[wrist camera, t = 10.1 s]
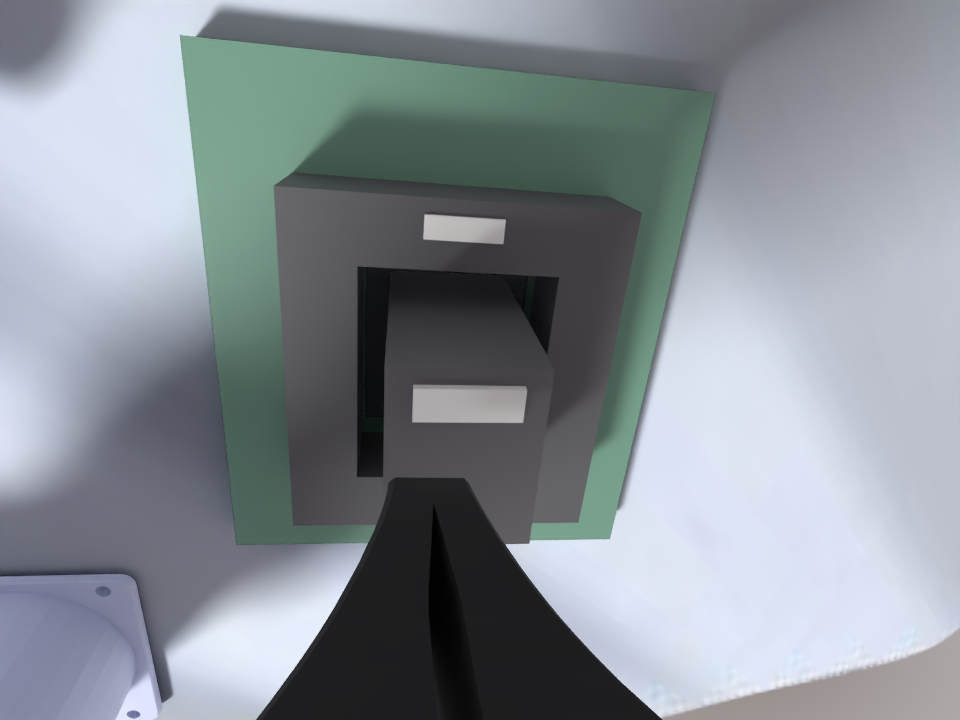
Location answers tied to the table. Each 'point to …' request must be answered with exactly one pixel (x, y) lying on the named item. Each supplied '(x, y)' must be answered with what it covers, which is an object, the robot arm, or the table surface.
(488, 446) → the plug
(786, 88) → the table surface
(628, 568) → the table surface
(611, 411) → the board
